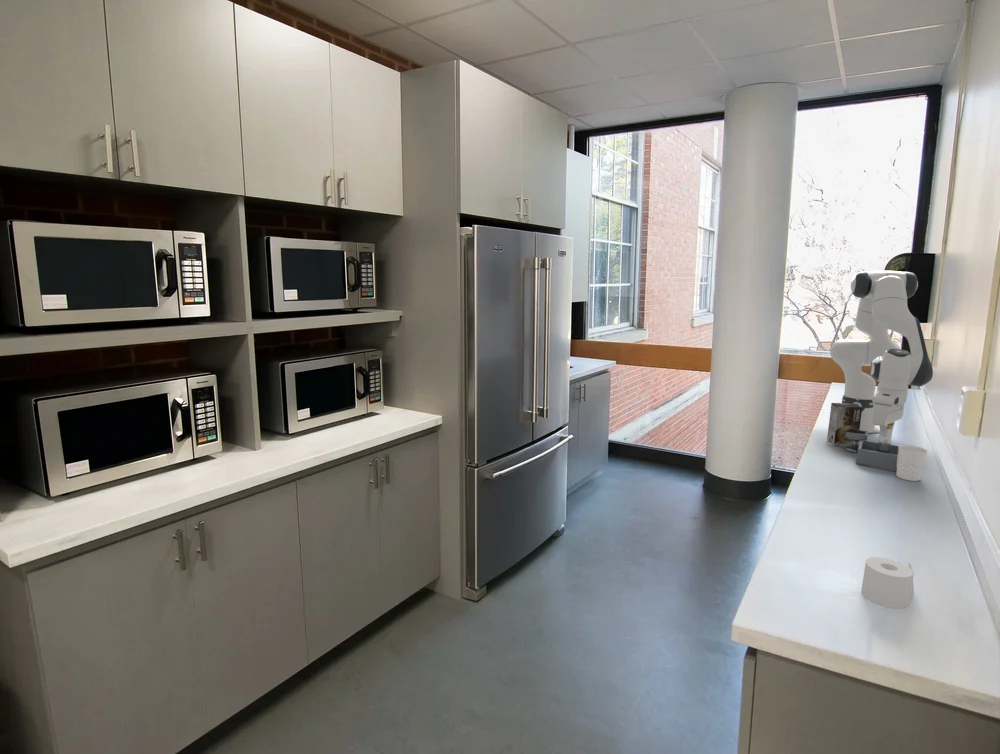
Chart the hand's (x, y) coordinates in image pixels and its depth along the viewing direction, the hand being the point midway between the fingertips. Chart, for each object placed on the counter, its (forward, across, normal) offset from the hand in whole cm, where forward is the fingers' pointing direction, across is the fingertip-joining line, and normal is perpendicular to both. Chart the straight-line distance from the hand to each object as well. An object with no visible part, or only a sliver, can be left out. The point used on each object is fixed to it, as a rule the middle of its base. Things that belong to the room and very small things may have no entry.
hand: (885, 434), depth 206 cm
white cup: (+11, +10, +11) cm, 18 cm away
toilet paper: (+11, +99, +33) cm, 105 cm away
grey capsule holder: (+11, -8, -12) cm, 18 cm away
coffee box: (+11, -14, -18) cm, 25 cm away
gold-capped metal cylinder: (+8, 0, 0) cm, 8 cm away
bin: (+11, 0, 0) cm, 11 cm away
